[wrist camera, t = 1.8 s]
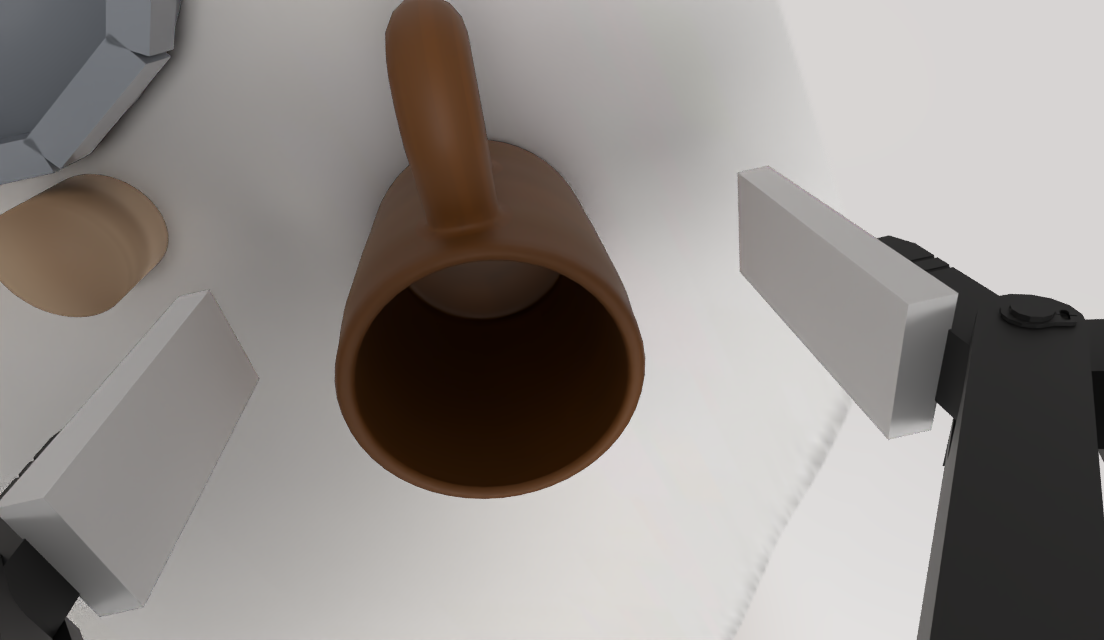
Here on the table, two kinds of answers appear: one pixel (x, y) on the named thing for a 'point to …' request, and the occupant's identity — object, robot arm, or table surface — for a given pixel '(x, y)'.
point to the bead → (80, 245)
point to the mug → (479, 297)
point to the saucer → (73, 75)
